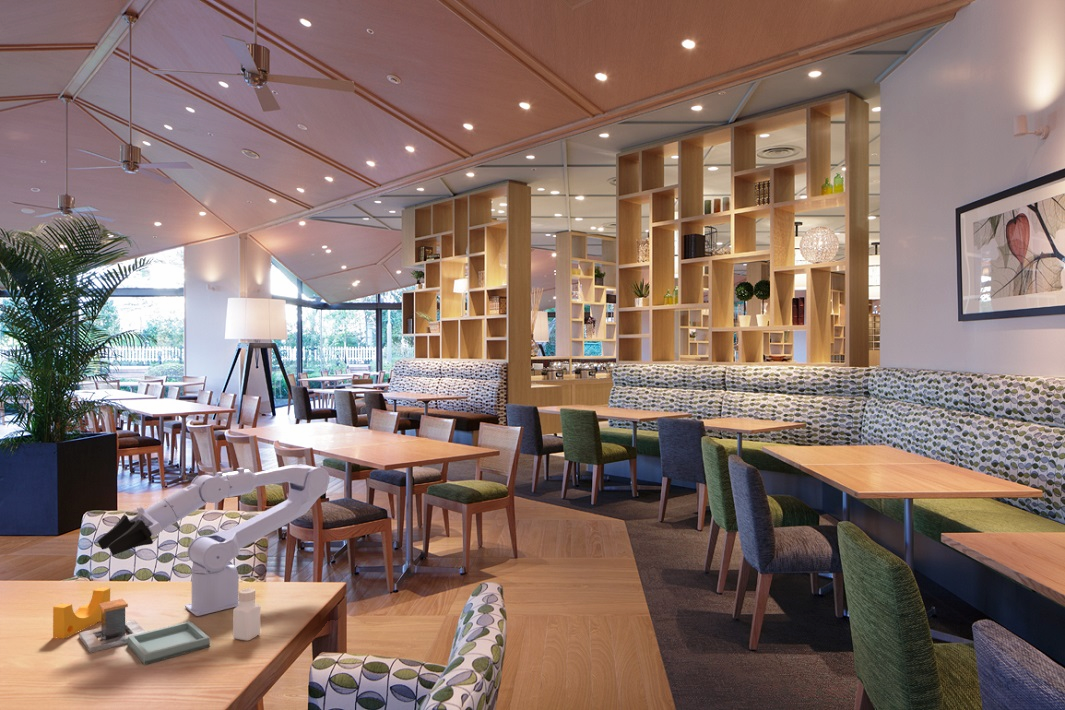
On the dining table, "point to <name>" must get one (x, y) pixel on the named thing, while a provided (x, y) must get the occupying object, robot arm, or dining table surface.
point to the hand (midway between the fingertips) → (105, 548)
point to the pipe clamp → (78, 614)
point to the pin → (113, 619)
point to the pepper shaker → (246, 616)
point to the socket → (96, 645)
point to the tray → (168, 642)
